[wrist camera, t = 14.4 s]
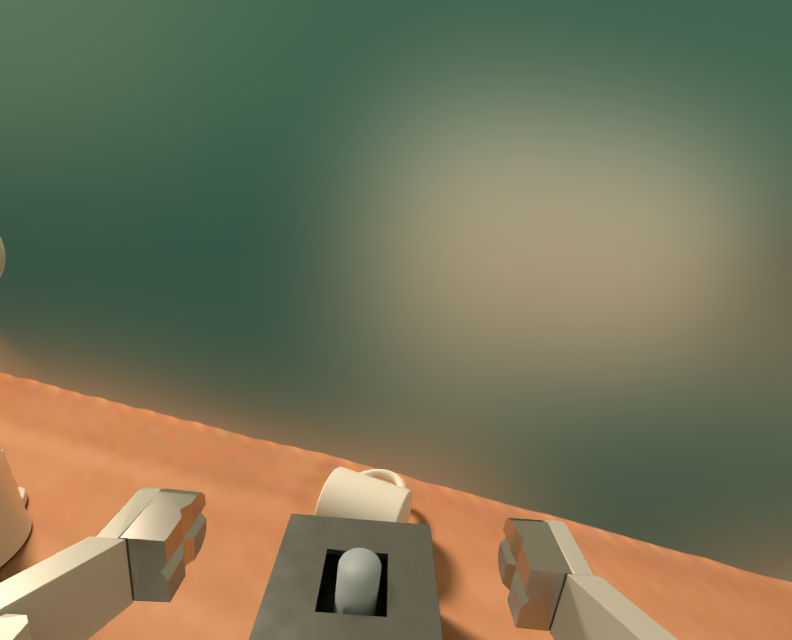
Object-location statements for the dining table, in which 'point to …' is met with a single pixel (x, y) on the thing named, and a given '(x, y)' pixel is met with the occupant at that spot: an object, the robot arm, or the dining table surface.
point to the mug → (365, 496)
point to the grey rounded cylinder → (357, 582)
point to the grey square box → (317, 574)
